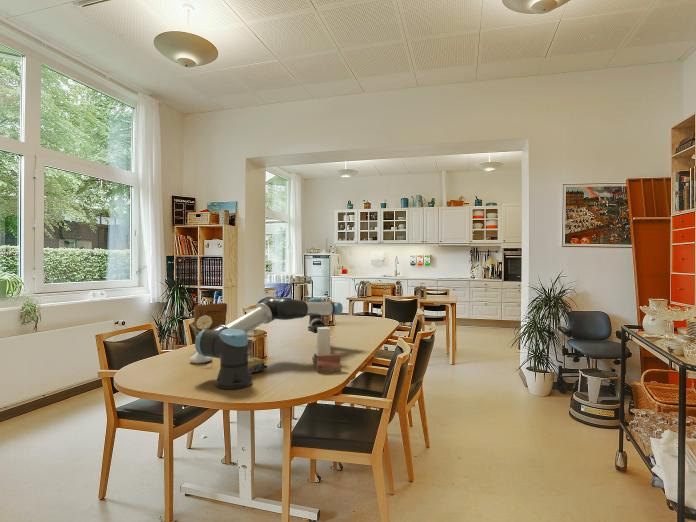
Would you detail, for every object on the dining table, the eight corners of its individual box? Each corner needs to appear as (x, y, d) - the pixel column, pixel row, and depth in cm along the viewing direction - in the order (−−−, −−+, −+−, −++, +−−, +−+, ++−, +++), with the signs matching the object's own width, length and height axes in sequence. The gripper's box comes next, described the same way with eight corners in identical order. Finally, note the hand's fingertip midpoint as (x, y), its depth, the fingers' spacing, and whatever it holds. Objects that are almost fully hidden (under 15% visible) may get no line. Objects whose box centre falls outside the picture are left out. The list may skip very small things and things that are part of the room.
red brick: (312, 360, 218) (312, 345, 218) (332, 359, 220) (332, 344, 220) (317, 372, 194) (317, 356, 194) (340, 371, 196) (340, 354, 196)
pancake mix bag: (228, 349, 245) (227, 303, 245) (194, 352, 239) (193, 304, 238) (227, 347, 252) (226, 302, 251) (194, 350, 245) (193, 303, 245)
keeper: (317, 357, 215) (317, 327, 215) (328, 356, 216) (328, 326, 216) (318, 360, 209) (318, 329, 209) (330, 359, 210) (330, 328, 210)
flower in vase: (184, 363, 213) (184, 316, 213) (199, 358, 224) (198, 313, 224) (205, 365, 209) (205, 317, 209) (219, 360, 220) (218, 314, 220)
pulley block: (254, 347, 221) (268, 360, 194) (255, 358, 222) (270, 372, 195) (227, 354, 215) (238, 368, 188) (229, 365, 216) (240, 380, 189)
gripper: (328, 331, 245) (334, 339, 222) (306, 332, 242) (310, 340, 219) (328, 319, 245) (334, 325, 222) (306, 320, 242) (310, 326, 219)
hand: (322, 333), depth 220 cm, fingers closed
